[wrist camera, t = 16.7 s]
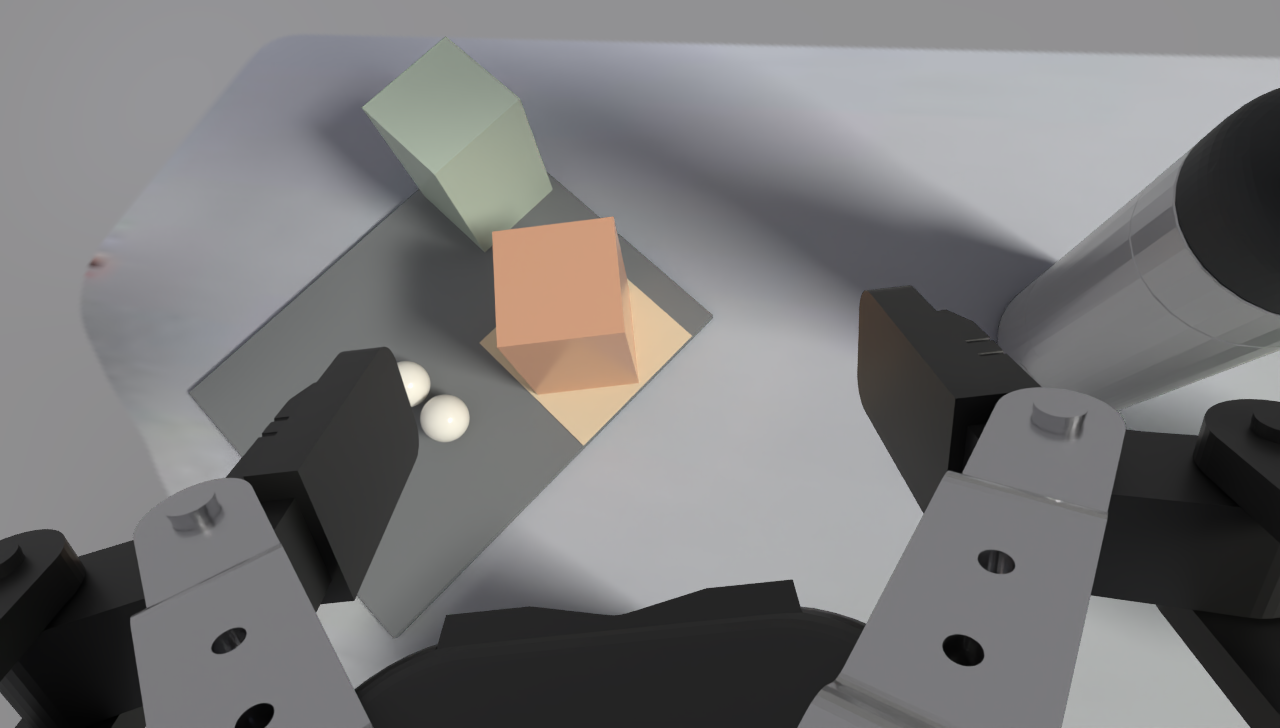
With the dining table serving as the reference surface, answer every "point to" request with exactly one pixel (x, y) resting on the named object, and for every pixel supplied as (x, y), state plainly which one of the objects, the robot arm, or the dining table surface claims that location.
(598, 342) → the orange block
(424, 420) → the marble
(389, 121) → the grey-green block
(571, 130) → the dining table surface
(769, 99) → the dining table surface
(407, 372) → the marble
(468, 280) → the mat
